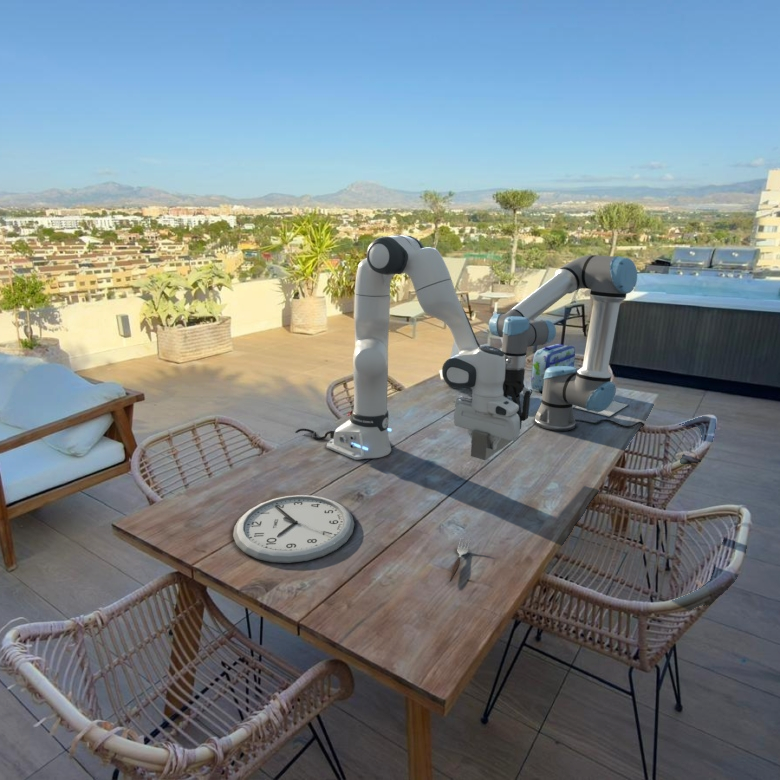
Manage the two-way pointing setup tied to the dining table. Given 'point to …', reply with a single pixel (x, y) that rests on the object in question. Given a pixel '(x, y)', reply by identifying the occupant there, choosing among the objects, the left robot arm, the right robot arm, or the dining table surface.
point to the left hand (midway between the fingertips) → (483, 446)
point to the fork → (461, 551)
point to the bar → (485, 444)
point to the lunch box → (550, 362)
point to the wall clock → (293, 529)
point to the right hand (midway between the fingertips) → (506, 436)
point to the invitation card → (608, 409)
